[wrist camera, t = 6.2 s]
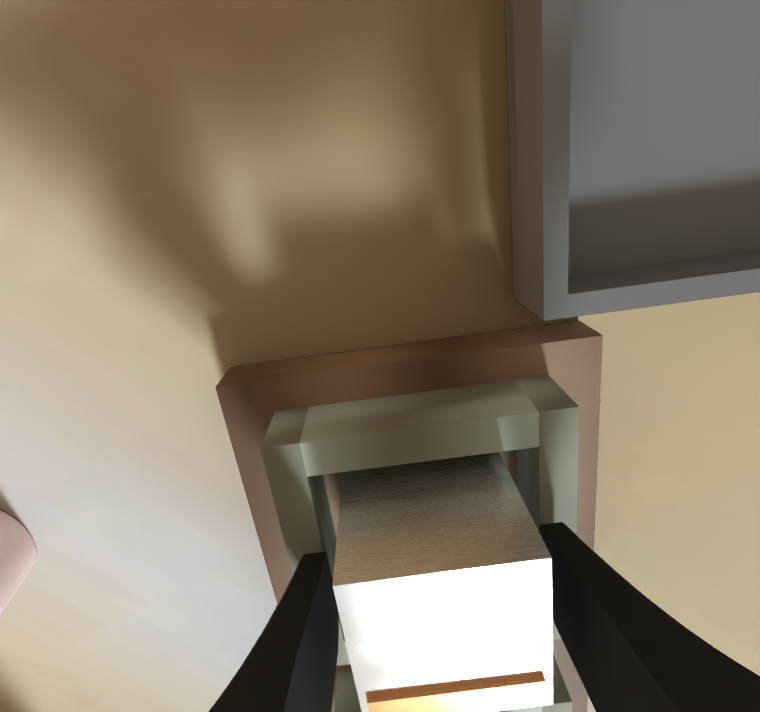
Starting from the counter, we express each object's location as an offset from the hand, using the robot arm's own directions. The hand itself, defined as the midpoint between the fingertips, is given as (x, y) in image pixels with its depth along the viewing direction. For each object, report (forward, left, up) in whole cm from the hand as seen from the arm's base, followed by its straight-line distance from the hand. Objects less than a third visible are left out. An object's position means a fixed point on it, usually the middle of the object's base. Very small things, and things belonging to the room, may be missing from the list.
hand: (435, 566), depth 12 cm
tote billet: (0, 0, -2) cm, 3 cm away
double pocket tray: (0, +6, -4) cm, 7 cm away
